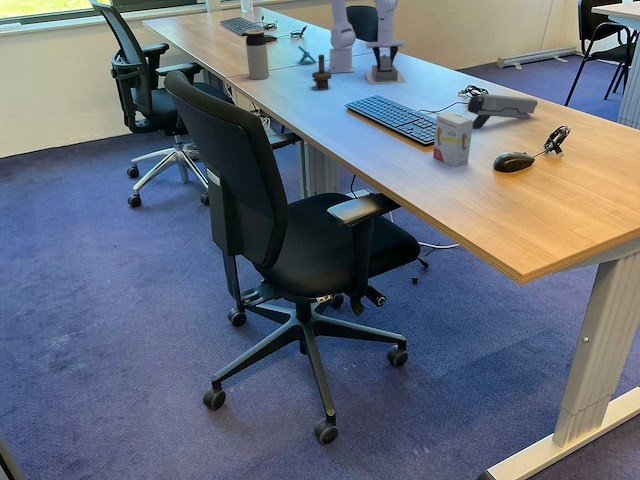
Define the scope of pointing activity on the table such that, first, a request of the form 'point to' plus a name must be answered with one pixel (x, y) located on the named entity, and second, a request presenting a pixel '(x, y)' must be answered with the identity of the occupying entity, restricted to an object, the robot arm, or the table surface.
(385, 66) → the servo
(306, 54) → the teal angled stand
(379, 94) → the table surface
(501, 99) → the gun
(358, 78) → the table surface
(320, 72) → the industrial component
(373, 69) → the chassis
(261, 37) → the travel mug
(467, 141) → the ink box
